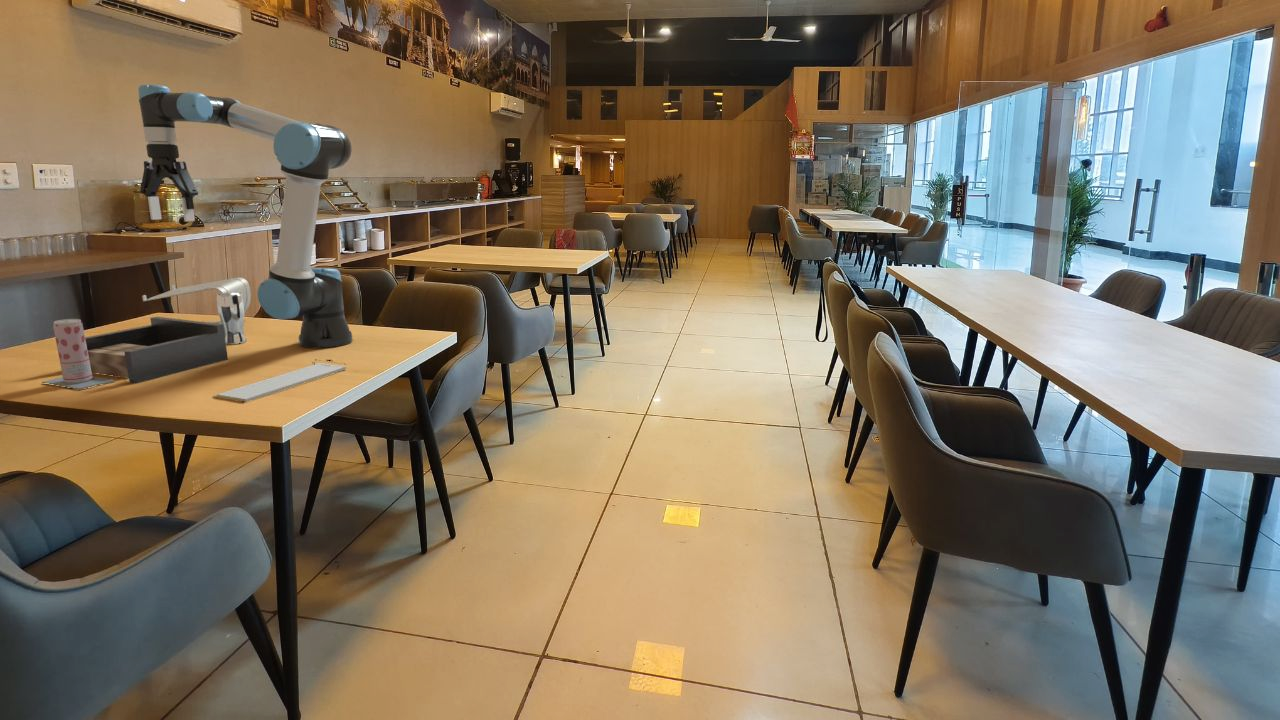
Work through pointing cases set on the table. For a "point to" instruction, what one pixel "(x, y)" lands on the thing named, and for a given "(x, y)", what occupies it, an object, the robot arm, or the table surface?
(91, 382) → the mat
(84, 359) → the beverage can
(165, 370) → the tray
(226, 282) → the portable electronic device stand
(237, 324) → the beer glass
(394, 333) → the table surface
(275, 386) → the baseboard molding
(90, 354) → the offcut slab
